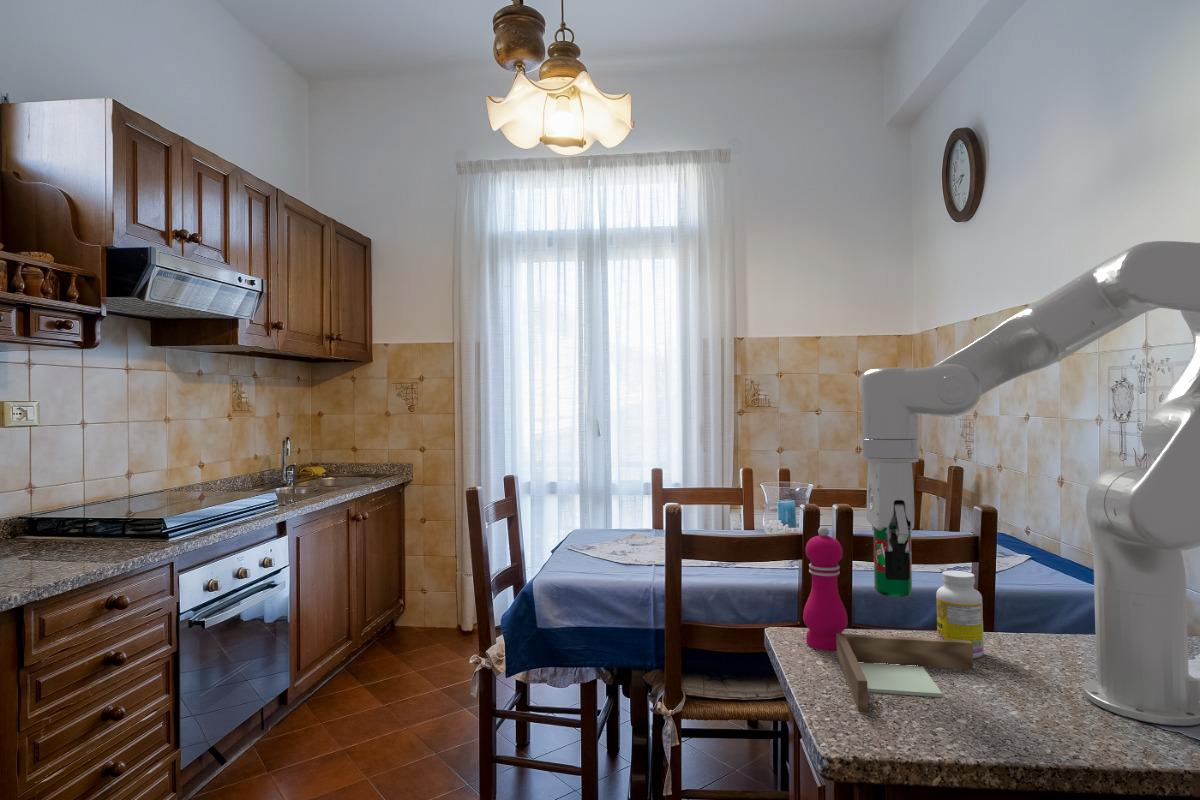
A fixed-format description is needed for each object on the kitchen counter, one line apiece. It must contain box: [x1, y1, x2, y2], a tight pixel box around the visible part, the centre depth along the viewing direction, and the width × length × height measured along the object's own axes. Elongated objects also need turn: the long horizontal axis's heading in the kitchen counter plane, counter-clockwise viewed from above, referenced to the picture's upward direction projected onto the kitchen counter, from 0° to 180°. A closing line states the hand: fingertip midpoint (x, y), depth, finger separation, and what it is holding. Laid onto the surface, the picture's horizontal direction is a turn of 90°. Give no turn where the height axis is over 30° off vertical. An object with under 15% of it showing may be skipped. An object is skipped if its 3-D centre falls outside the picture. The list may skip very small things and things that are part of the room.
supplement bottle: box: [935, 570, 985, 659], centre depth 108 cm, size 7×7×13 cm
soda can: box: [872, 517, 913, 598], centre depth 97 cm, size 5×5×12 cm
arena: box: [836, 633, 974, 713], centre depth 94 cm, size 20×19×4 cm
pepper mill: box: [802, 526, 849, 652], centre depth 112 cm, size 7×7×20 cm
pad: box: [859, 663, 944, 698], centre depth 96 cm, size 10×10×1 cm
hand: (892, 573), depth 97 cm, fingers closed on soda can, 5 cm apart
